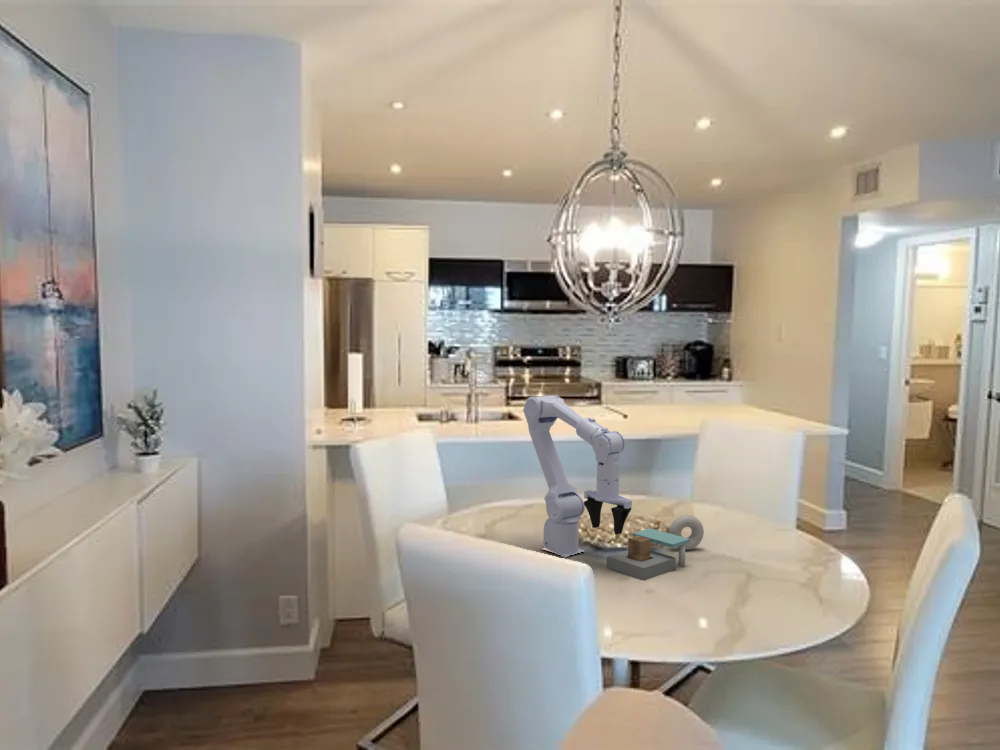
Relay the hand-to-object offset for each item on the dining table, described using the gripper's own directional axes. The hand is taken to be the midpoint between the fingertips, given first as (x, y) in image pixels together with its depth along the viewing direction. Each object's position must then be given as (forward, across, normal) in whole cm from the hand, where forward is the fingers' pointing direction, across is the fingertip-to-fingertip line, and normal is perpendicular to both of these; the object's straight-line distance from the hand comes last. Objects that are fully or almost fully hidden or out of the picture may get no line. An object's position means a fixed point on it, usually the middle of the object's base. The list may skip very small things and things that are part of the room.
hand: (606, 530), depth 194 cm
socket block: (+9, +7, +5) cm, 13 cm away
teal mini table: (+9, +7, +14) cm, 18 cm away
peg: (+9, +7, +5) cm, 13 cm away
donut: (+10, +5, +28) cm, 30 cm away
